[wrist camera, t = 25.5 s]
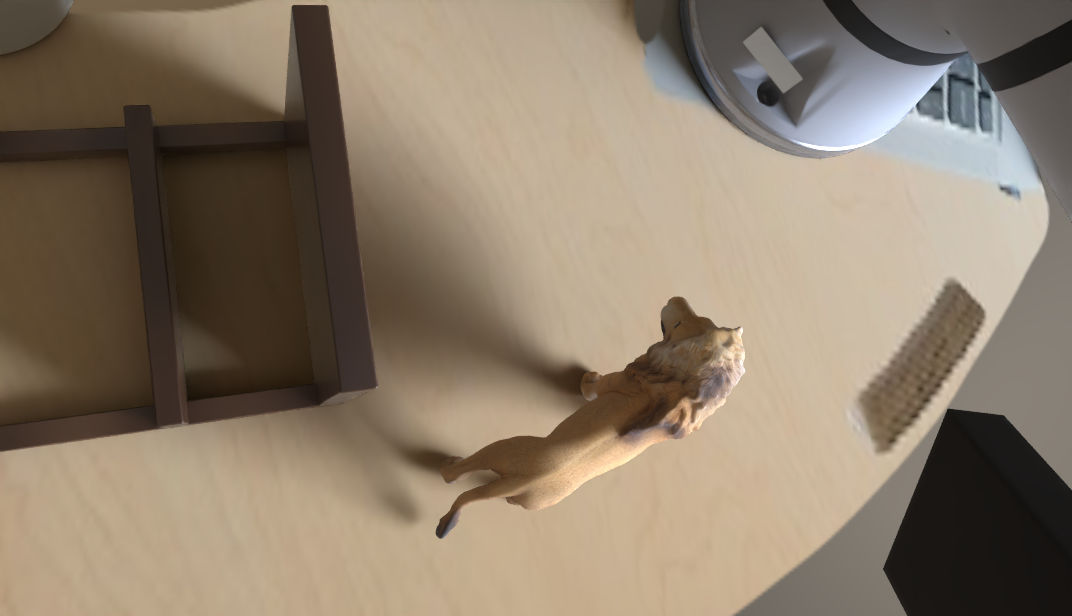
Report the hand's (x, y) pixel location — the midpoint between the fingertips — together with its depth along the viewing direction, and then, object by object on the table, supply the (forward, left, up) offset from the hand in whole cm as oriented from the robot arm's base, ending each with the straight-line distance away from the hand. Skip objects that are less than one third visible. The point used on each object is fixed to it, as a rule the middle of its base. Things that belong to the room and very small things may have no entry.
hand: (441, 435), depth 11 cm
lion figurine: (-11, +1, -29) cm, 31 cm away
